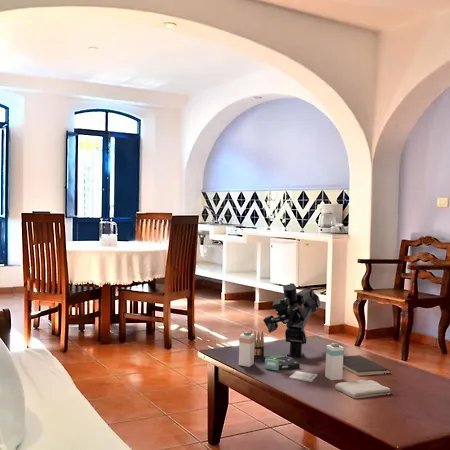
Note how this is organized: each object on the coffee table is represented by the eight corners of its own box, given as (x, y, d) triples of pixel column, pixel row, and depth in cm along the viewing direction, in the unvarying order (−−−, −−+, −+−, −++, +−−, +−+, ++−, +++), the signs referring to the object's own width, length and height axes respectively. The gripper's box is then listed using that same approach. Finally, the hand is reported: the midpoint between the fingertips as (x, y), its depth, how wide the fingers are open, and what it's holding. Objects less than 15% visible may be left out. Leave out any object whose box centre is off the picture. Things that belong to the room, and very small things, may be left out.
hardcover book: (357, 377, 233) (357, 371, 233) (330, 361, 255) (330, 356, 254) (390, 374, 238) (390, 369, 238) (361, 360, 260) (361, 355, 259)
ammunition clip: (262, 356, 257) (263, 330, 257) (264, 357, 256) (265, 331, 255) (240, 357, 255) (241, 331, 254) (241, 358, 253) (242, 331, 253)
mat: (296, 372, 234) (296, 370, 234) (317, 375, 230) (317, 374, 230) (289, 378, 226) (289, 376, 226) (311, 381, 222) (311, 380, 222)
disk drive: (300, 369, 241) (282, 360, 254) (300, 363, 241) (283, 354, 254) (279, 371, 237) (262, 361, 250) (279, 365, 236) (262, 355, 250)
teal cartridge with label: (265, 367, 239) (265, 358, 239) (278, 370, 237) (278, 360, 236) (264, 368, 238) (264, 359, 238) (278, 370, 236) (278, 361, 236)
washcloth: (392, 395, 211) (392, 387, 211) (353, 400, 204) (354, 392, 204) (371, 385, 222) (372, 377, 222) (334, 390, 214) (334, 382, 214)
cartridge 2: (324, 376, 230) (326, 342, 230) (335, 375, 232) (337, 341, 231) (331, 380, 225) (332, 345, 225) (342, 379, 227) (344, 344, 227)
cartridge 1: (242, 362, 247) (244, 330, 246) (253, 363, 245) (255, 331, 244) (238, 365, 242) (239, 332, 242) (249, 366, 240) (250, 334, 240)
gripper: (263, 300, 254) (251, 319, 241) (298, 289, 244) (287, 307, 231) (275, 321, 256) (263, 340, 243) (310, 310, 246) (300, 330, 233)
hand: (277, 329), depth 237 cm, fingers open, 9 cm apart
